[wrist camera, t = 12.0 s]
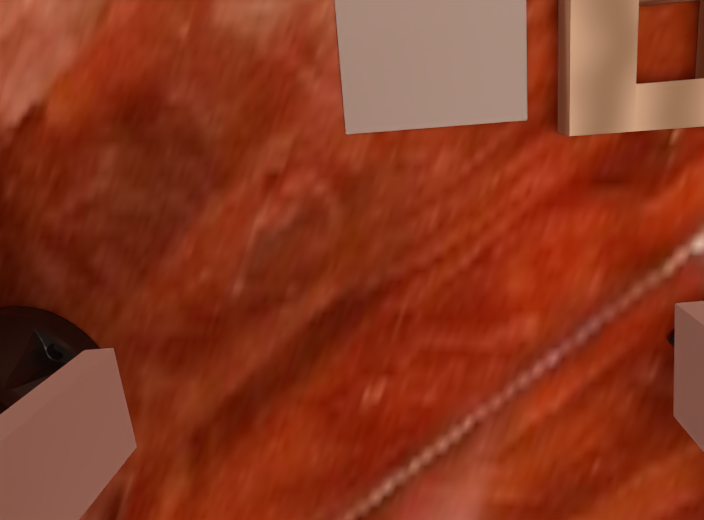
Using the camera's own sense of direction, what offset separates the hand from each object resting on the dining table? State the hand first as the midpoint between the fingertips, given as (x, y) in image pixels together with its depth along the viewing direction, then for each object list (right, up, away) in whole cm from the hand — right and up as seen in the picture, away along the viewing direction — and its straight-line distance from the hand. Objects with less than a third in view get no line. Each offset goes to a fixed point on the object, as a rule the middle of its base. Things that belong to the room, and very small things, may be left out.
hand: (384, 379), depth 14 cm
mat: (+4, +18, +25) cm, 31 cm away
